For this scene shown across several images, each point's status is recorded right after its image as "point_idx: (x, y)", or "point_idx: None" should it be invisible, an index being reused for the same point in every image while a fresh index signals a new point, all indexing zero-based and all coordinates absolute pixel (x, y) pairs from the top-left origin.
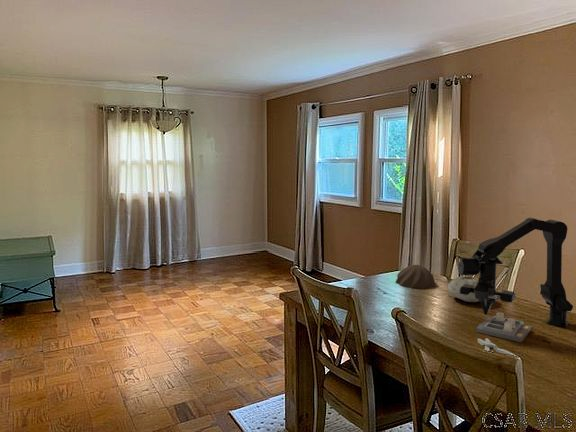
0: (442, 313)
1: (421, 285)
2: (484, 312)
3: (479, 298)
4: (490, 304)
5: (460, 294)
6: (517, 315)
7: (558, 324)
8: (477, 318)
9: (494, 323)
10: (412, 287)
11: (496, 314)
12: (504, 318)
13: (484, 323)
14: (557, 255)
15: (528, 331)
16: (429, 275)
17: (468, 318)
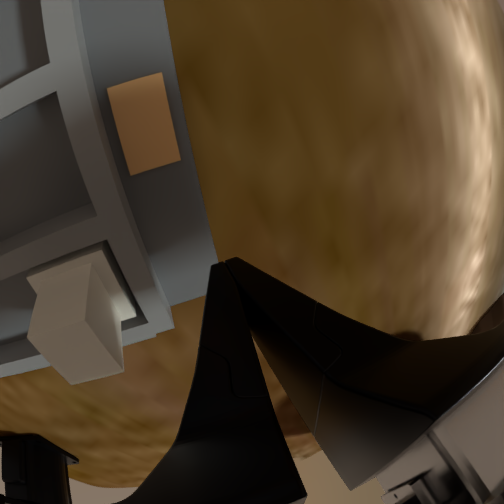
0: (463, 161)
1: (488, 323)
2: (244, 267)
3: (480, 363)
4: (187, 407)
5: None
6: (165, 428)
7: (4, 441)
8: (296, 254)
9: (80, 207)
10: (501, 299)
11: (83, 310)
12: None
13: (144, 101)
14: None
15: None
16: None
17: (346, 201)
